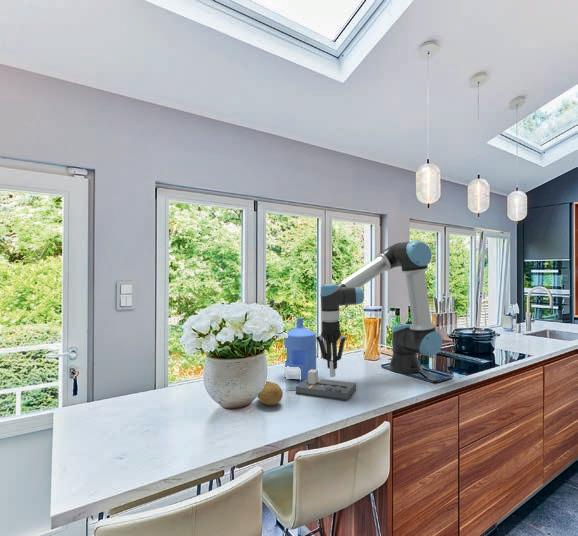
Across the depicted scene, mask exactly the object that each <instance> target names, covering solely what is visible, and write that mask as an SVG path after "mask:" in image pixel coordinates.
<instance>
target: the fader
mask: <svg viewBox="0 0 578 536" xmlns="http://www.w3.org/2000/svg"><path fill="white" fill-rule="evenodd" d="M318 373H319V372H318V369H316V370H313V369H311V370H310V371H308V384H316V383H317V382H318V379H319V374H318Z"/></svg>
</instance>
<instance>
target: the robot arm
mask: <svg viewBox="0 0 578 536" xmlns="http://www.w3.org/2000/svg"><path fill="white" fill-rule="evenodd" d="M432 255H433V254H432V251H431V248H430V246H429V245H428V244H427V243H425V242H424V241H421V240H412V241H404V242H398V243H394V244H392V245H391V246H390V245H389V246H388V247H386V248H385V249H384V250H382V251H381V252H379V253H378V254H376V256H375V258H374V259H372V260H371V261H370V262H368V263H366V264H365V265H364V266H362V267H360V268H359V269H357V270H356V271H354V272H353V273H351V274H350V275H348V276H346V277H345V278H344V279H343V280H341V281H339V282H337V283H327V284H325V283H324V284H322V285H321V286H320V308H321V311H320V312H321V313H320V314H321V334H320V335H318V336H316V341H317V342H318V346H319V350H320V353H321V356H322V357H321V358H322V359H323V360H326V361H327V369H329V377H330V378H335V377H336V370H337V368H338V361H340V360H341V359H342V356H343V351H344V346H345V343H346V341H347V338H348V337H346V336H343V335H342V333H341V327H340V326H341V325H340V324H341V323H340V322H341V321H339V320H340V306H352V305H353V306H354V305H355V306H356V305H361V304H362V303H363V302H364V299H365V292H364V289H362V286H364V285H366V284H367V283H369V282H371V281H372V280H373V279H375V278H376V277H378V276H379V275H381V274H382V273H384V272H389V271H390V270H391V269H394V268H398V267H401V273H403V274H405V279H406V280H405V281H406V286H407V294H408V295H407V296H408V302H409V309H410V318H411V323H408V324H406V323H405V324H394V325H393V326H392V330H391V331H392V332H391V334H392V337H391V338H392V355H391V358H390V361H389V370H390V371H392V372H395V373H400V374H417V373H416V372H418V373H420V372H421V371H422V369H421V368H422V366H421V363H420V361H419V357H418V354H419V355H422V356H427V357H433V356H435V355H437V354H438V353H440V351H441V349H442V347H443V342H444V341H443V337H442V335H441V334H440V333H439V332H437V330H436V325H435V324H434V323H433V322H432V318H431V312H430V311H431V310H430V302H429V301H430V300H429V294H428V287H427V279H426V271H427V270H428V268H429V267H428V265H429V264H430V263H431V260H432ZM338 340H339V341H340V343H339V345H338ZM324 341H325V342H324ZM337 347H338V348H337ZM420 370H421V371H420ZM419 371H420V372H419Z"/></svg>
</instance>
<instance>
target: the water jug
mask: <svg viewBox="0 0 578 536" xmlns="http://www.w3.org/2000/svg"><path fill="white" fill-rule="evenodd" d="M303 320H304V318H303V317H301V318H296V327H294V328H292V329H290V330H288V331H286V332H285V333H287V334H288V338H285V339H284V338H283V341H284V342H283V343H284V348H285V350H286V360H285V361H284V368H285V367H287V366H289V367H299V368H300V369H301V380H300V381H304V380H305V379H307V378H308V371H310V370H311V369H313V370H317V356H318V355H317V339H316V337H317V335H316V334H317V333H316V332H314V331H312V330H310V329H308V328H306V327H304V321H303Z"/></svg>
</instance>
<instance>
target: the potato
mask: <svg viewBox="0 0 578 536" xmlns="http://www.w3.org/2000/svg"><path fill="white" fill-rule="evenodd" d="M283 393H284V392H283V390H282V387H281V386H280V385H279V384H278V383H276V382H272V381H267V380H266V384H265V385H264V388H263V389H262V391H261V392H260V393H259V394H258V396H257V395H256V396H257V399H258V400H260V402H261V403H262V404H264V405H268V406H274V405H277V404H278V403H280V401H282V399H283V395H284V394H283Z"/></svg>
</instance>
